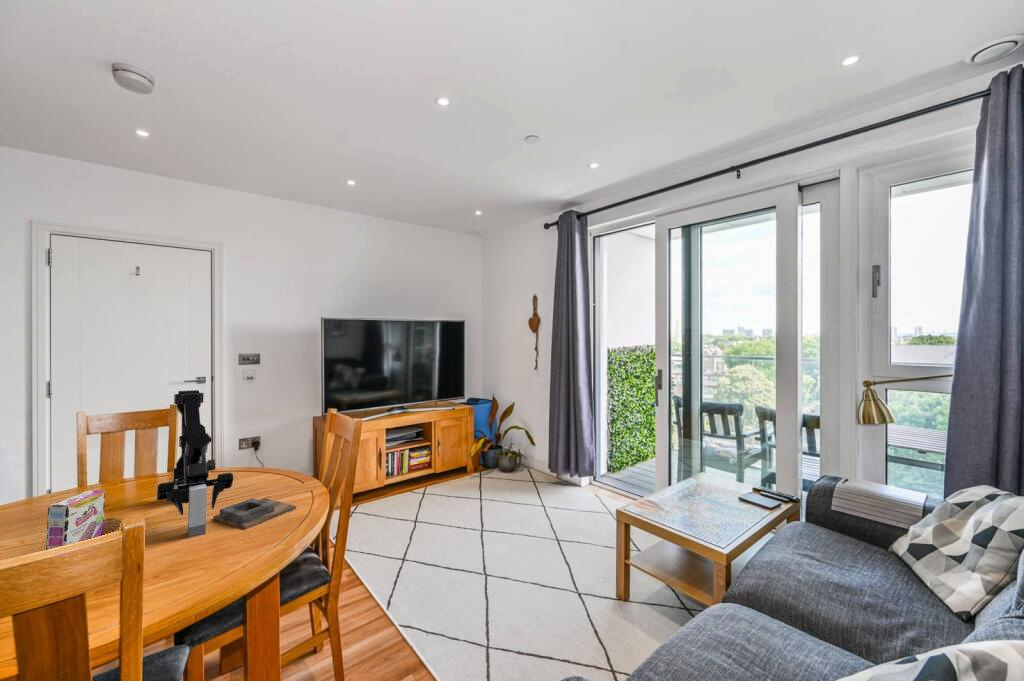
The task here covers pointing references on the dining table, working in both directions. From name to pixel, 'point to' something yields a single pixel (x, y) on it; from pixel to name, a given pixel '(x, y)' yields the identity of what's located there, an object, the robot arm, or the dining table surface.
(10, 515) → the dining table surface
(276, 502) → the grey square socket base
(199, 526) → the white block
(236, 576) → the dining table surface
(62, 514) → the candy bar box
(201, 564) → the dining table surface
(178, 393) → the robot arm
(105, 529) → the pastry
